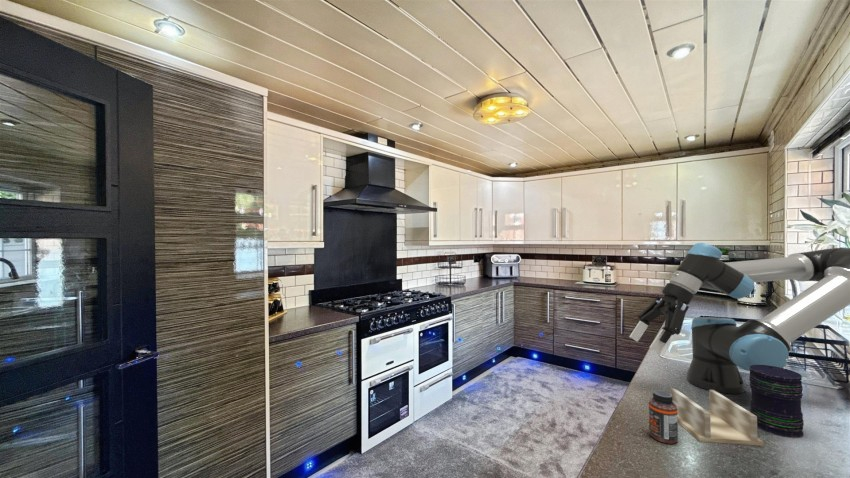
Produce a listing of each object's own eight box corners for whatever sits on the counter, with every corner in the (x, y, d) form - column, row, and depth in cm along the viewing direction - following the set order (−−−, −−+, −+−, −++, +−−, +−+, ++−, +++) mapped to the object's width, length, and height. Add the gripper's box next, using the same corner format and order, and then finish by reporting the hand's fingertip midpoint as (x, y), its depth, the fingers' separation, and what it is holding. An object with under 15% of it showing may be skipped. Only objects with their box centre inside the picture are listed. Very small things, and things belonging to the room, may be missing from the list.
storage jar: (811, 442, 83) (809, 381, 83) (756, 431, 88) (755, 373, 88) (795, 424, 91) (793, 368, 92) (745, 414, 96) (744, 362, 97)
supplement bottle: (643, 432, 88) (642, 388, 88) (665, 430, 89) (664, 387, 89) (661, 445, 82) (660, 398, 82) (684, 444, 83) (683, 397, 83)
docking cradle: (665, 411, 99) (665, 387, 99) (719, 414, 97) (718, 390, 97) (699, 441, 84) (699, 413, 84) (763, 445, 82) (762, 416, 82)
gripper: (650, 279, 119) (616, 329, 120) (694, 285, 94) (652, 348, 95) (670, 291, 118) (635, 341, 119) (720, 300, 93) (677, 363, 94)
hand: (643, 344), depth 107 cm, fingers open, 13 cm apart
